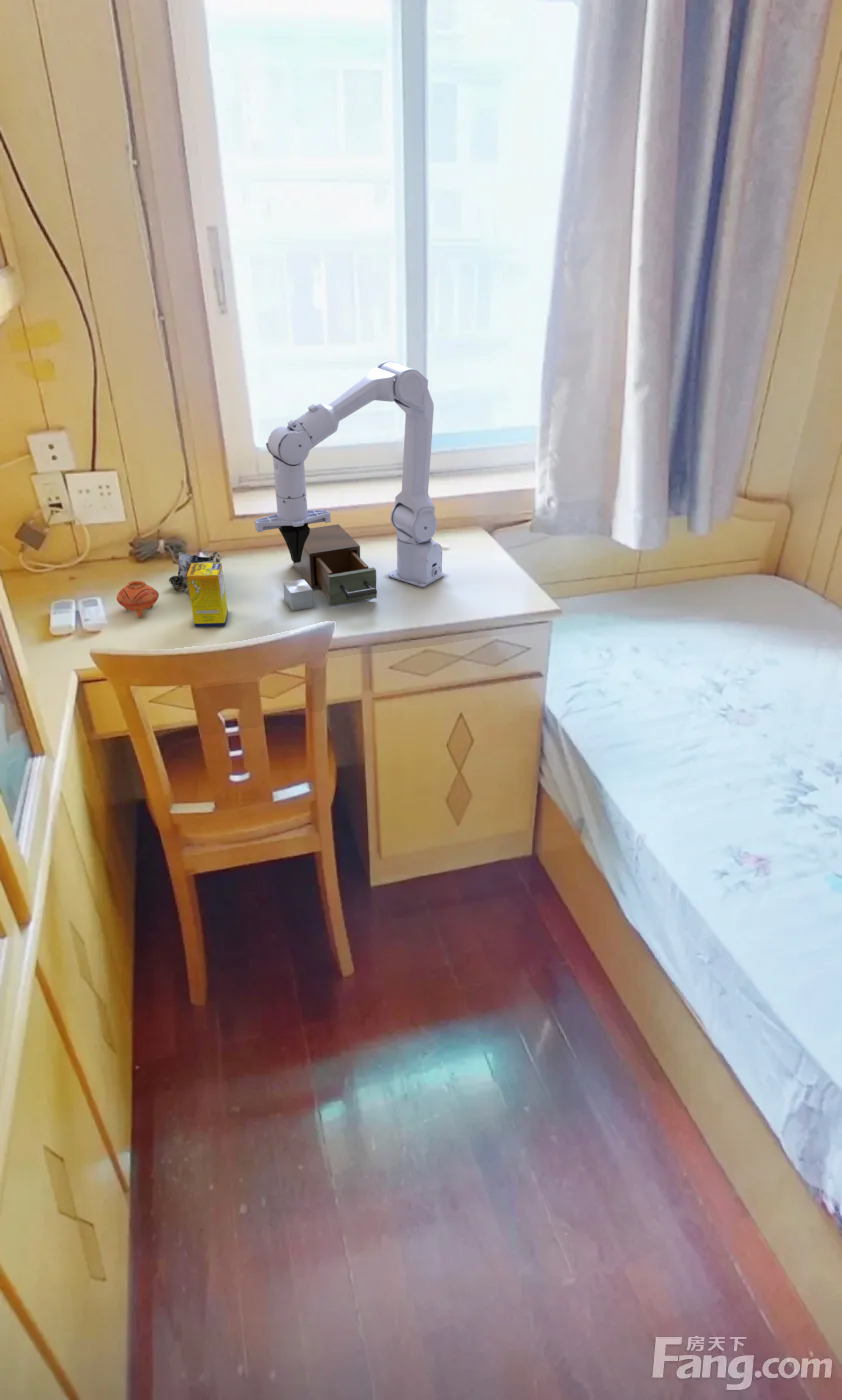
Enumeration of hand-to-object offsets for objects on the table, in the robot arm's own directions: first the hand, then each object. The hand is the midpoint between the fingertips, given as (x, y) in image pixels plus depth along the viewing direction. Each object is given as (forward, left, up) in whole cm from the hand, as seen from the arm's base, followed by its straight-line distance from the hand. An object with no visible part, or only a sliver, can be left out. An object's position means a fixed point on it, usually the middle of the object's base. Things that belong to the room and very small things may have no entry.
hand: (296, 560), depth 164 cm
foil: (+22, +7, -10) cm, 25 cm away
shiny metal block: (0, 0, -9) cm, 9 cm away
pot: (+23, +22, -10) cm, 33 cm away
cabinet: (+6, -15, -9) cm, 18 cm away
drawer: (-7, -8, -9) cm, 13 cm away
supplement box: (+9, +16, -10) cm, 20 cm away
